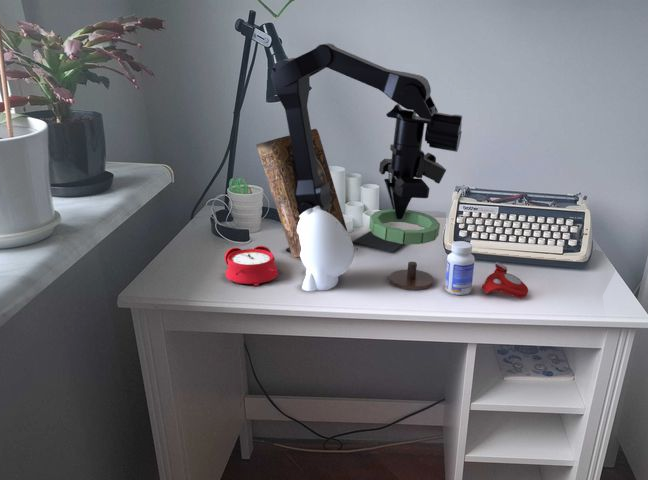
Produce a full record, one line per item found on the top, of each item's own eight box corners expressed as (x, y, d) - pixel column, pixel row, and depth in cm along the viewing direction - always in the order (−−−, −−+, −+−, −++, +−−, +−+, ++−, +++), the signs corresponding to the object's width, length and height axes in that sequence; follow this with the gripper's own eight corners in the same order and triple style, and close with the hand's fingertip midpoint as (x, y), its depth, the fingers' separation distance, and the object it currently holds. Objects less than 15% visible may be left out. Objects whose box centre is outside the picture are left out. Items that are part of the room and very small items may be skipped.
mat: (351, 244, 148) (351, 241, 148) (373, 231, 157) (373, 229, 157) (393, 253, 144) (393, 250, 144) (413, 239, 153) (413, 237, 153)
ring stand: (381, 283, 128) (381, 265, 127) (401, 269, 136) (402, 252, 134) (422, 293, 125) (423, 275, 123) (440, 278, 132) (441, 260, 131)
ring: (355, 230, 127) (356, 219, 126) (392, 214, 138) (393, 204, 137) (416, 250, 122) (418, 238, 121) (450, 232, 133) (452, 221, 132)
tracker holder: (540, 290, 127) (505, 288, 121) (529, 308, 129) (495, 307, 123) (505, 257, 134) (470, 254, 128) (495, 275, 136) (461, 272, 130)
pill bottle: (476, 291, 128) (482, 245, 123) (459, 298, 124) (464, 251, 120) (456, 282, 131) (460, 237, 126) (439, 289, 128) (442, 243, 123)
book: (308, 257, 137) (271, 139, 128) (289, 260, 140) (252, 145, 131) (349, 236, 150) (317, 128, 141) (330, 239, 152) (298, 133, 144)
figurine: (353, 270, 134) (354, 200, 127) (353, 292, 124) (354, 218, 117) (300, 268, 133) (298, 198, 126) (296, 290, 123) (293, 216, 116)
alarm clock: (228, 272, 120) (218, 231, 130) (229, 298, 124) (220, 256, 135) (282, 268, 123) (269, 228, 134) (282, 293, 128) (269, 252, 138)
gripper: (459, 158, 122) (446, 234, 129) (432, 135, 137) (422, 205, 145) (404, 154, 119) (394, 232, 126) (382, 131, 134) (375, 203, 142)
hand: (398, 217), depth 135 cm, fingers closed on ring, 2 cm apart
